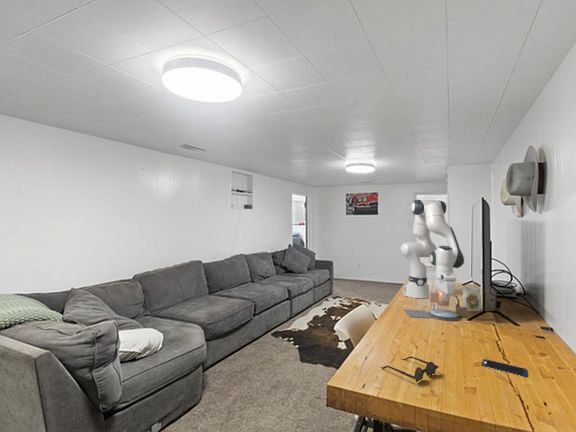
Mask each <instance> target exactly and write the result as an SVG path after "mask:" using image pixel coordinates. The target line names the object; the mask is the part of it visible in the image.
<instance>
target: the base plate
mask: <svg viewBox="0 0 576 432" xmlns="http://www.w3.org/2000/svg"><path fill="white" fill-rule="evenodd" d="M427 313H428V315H429V316H431V317H432V318H431V319H435V320H439V321H447V322H457V321H461V318H462V316H458V317H457V318H453V319H449V318H441V317H437V316H434V315H432V314H431V313H430V311H427Z"/></svg>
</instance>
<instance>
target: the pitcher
mask: <svg viewBox="0 0 576 432" xmlns="http://www.w3.org/2000/svg"><path fill="white" fill-rule="evenodd" d="M458 288H460V289H461V291H462V293H463V295H462V303H463V307H466V308H467V311H468V310H469V311H468V312H471V311H479V312H480V311H481V310H482V309H481V295H480V289H481V288H478V287H470V286H461V285H459V286H458Z"/></svg>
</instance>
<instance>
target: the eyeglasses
mask: <svg viewBox="0 0 576 432" xmlns="http://www.w3.org/2000/svg"><path fill="white" fill-rule="evenodd" d="M401 359H402V360H403V361H407V360H409V359H413V360H416V361H419V362H421V363H424V364H426V366H425V368H421V367H420V366H417V367H416V368H415V371H414V375H412V374H410V373H407V372H405V371H403V370H399V368H395V367H393V366H390V365H384V366H383V367H382V366H380V367H381V368H382V369H381V368H380V369H381V370H384V369H387V368H389V369H390V370H394V371H395V372H398V373H400V374H402V375H404V376H406V377H408V378H410V379H413V380H414V381H415V382H416V383H417V382H418V381H419V380H421V379H423V380H424V374H426V376H427V377H428V376H429V375H432V374H434V375H436V371H437V369H439V366H438V365H437V364H435V363H434V361H433V362H432V361H429V362H428V361H425V360H423V359H420V358H418V357H415V356H407V357H406V358H401Z"/></svg>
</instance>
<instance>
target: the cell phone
mask: <svg viewBox="0 0 576 432" xmlns="http://www.w3.org/2000/svg"><path fill="white" fill-rule="evenodd" d="M483 366H485V367H484V368H486V367H490V368H494V369H497V370H496V371H498V370H501V371H500V372H502V371H505V372H504V373H506V372H509V373H508V374H510V373H513V374H512V375H514V374H516V375H515V376H518V375H520V376H519V377H522V376H523V378H528V369H526V368H524V367H520V366H516V365H511V364H507V363H503V362H499V361H494V360H490V359H487V358H484V359H483V360H482V363H481V367H483ZM490 368H489V369H490ZM494 369H493V370H494Z"/></svg>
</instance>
